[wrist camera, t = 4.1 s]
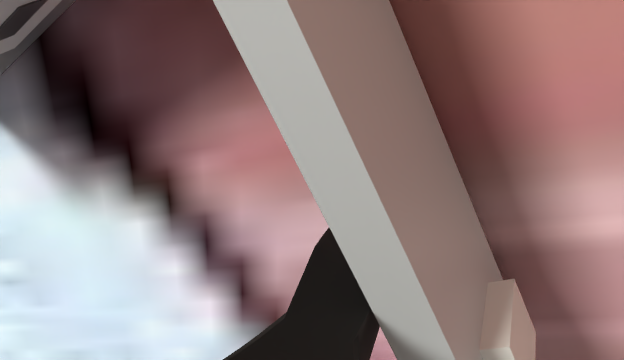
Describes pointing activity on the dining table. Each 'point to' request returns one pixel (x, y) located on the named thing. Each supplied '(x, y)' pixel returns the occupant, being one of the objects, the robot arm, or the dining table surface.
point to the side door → (382, 174)
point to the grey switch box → (25, 25)
